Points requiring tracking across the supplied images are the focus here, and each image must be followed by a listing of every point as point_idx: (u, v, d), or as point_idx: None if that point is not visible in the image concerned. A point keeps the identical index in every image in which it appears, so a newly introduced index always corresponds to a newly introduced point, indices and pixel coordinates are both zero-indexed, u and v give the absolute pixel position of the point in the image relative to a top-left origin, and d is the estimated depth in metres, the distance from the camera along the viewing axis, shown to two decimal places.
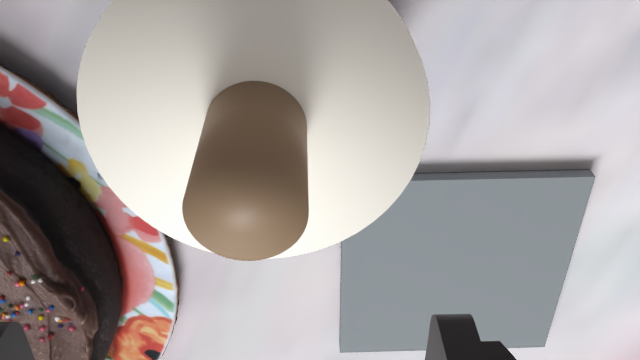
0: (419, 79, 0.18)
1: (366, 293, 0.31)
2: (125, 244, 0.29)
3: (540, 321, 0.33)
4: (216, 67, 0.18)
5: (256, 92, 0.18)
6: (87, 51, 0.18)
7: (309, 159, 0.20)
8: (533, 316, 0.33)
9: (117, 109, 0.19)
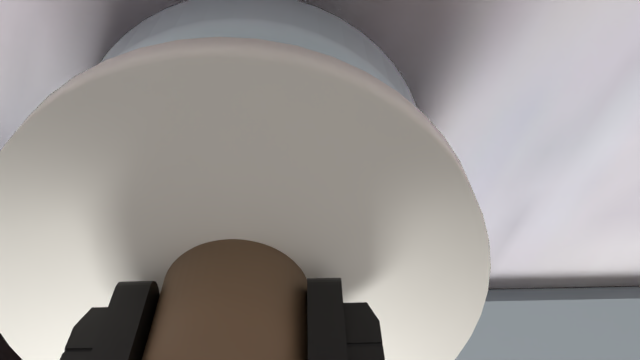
0: (477, 237, 0.12)
1: None
2: None
3: None
4: (176, 222, 0.12)
5: (234, 264, 0.12)
6: None
7: None
8: None
9: (33, 275, 0.13)
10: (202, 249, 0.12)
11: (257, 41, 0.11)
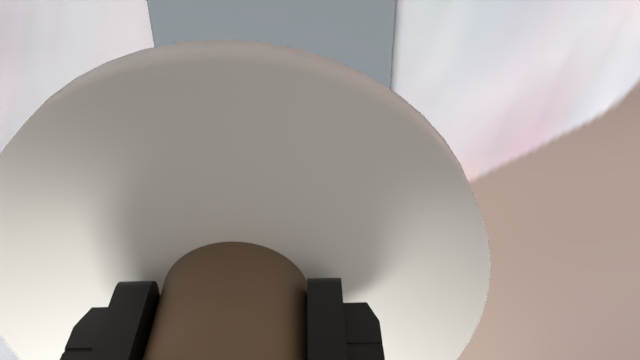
0: (477, 239, 0.12)
1: None
2: None
3: None
4: (176, 224, 0.12)
5: (235, 267, 0.12)
6: None
7: None
8: None
9: (33, 277, 0.13)
10: (202, 252, 0.12)
11: (257, 43, 0.11)
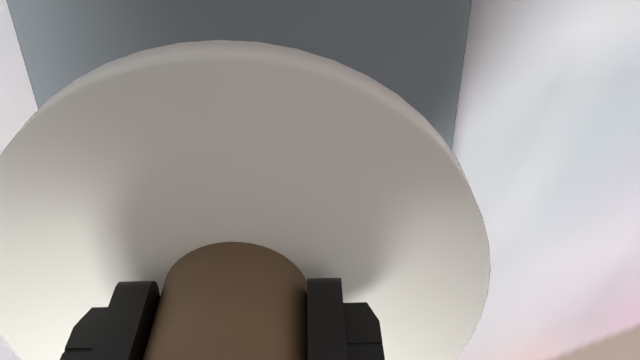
0: (477, 240, 0.12)
1: None
2: None
3: None
4: (177, 224, 0.12)
5: (235, 267, 0.12)
6: None
7: None
8: None
9: (33, 277, 0.13)
10: (202, 252, 0.12)
11: (258, 44, 0.11)
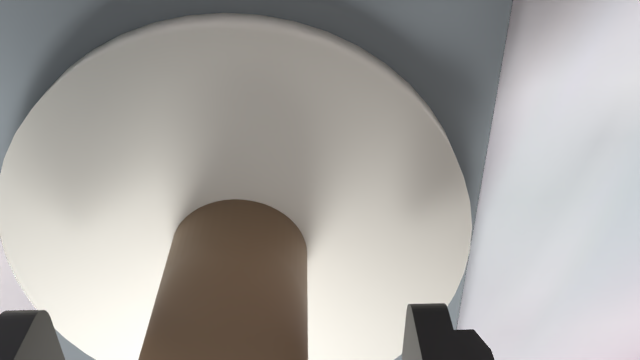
0: (459, 198, 0.14)
1: None
2: None
3: None
4: (185, 183, 0.13)
5: (238, 220, 0.13)
6: (7, 163, 0.13)
7: (310, 291, 0.15)
8: None
9: (53, 233, 0.14)
10: (208, 208, 0.13)
11: (259, 17, 0.12)
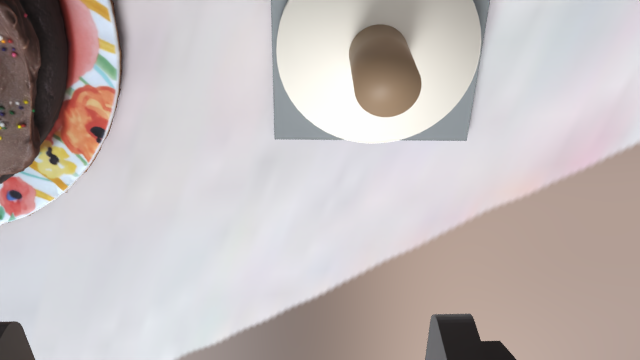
0: (476, 26, 0.32)
1: None
2: None
3: (461, 109, 0.35)
4: (361, 15, 0.31)
5: (385, 29, 0.31)
6: (290, 3, 0.31)
7: None
8: None
9: (300, 39, 0.32)
10: (370, 27, 0.32)
11: None
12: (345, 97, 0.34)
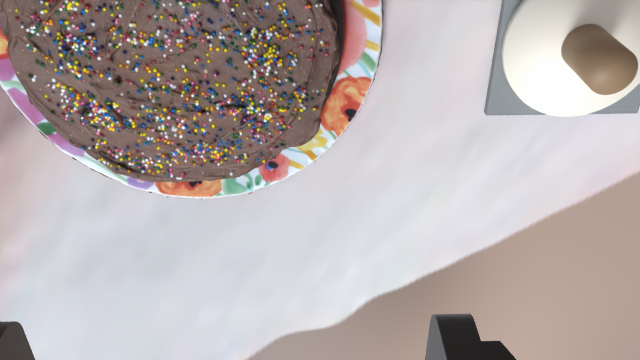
0: None
1: None
2: (351, 10, 0.41)
3: (636, 88, 0.45)
4: (576, 17, 0.41)
5: (596, 27, 0.41)
6: (524, 9, 0.40)
7: None
8: None
9: (526, 36, 0.42)
10: (582, 26, 0.41)
11: None
12: (552, 81, 0.43)
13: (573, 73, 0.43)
